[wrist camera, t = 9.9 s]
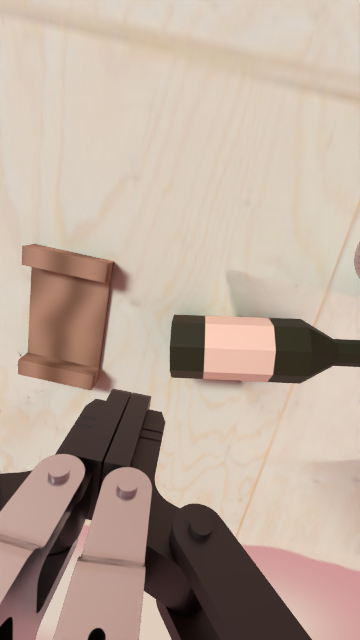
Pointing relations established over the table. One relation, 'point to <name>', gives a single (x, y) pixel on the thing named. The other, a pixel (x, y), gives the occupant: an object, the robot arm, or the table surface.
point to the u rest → (65, 315)
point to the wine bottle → (254, 349)
